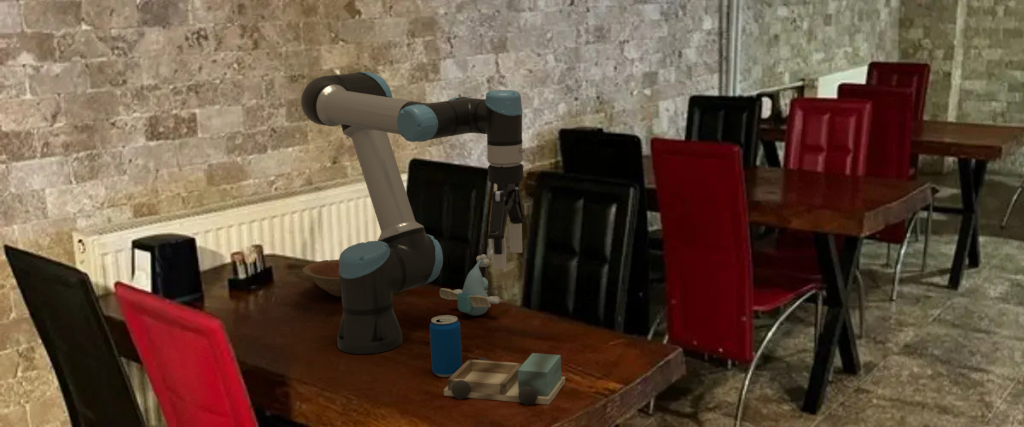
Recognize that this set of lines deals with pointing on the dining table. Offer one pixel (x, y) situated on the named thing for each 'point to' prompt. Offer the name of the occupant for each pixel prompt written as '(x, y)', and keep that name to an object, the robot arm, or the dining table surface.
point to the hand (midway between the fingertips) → (508, 260)
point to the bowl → (325, 275)
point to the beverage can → (445, 345)
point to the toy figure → (473, 291)
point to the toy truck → (509, 380)
